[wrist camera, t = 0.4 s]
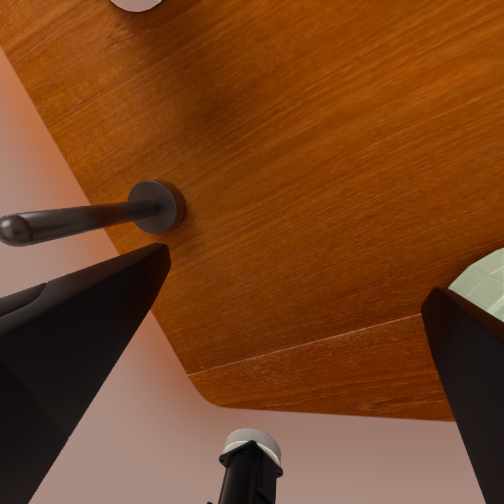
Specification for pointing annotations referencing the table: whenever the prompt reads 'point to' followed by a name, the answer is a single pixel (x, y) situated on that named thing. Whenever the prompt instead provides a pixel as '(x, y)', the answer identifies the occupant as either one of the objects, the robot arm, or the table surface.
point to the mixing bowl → (484, 284)
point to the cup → (136, 4)
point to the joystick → (98, 216)
